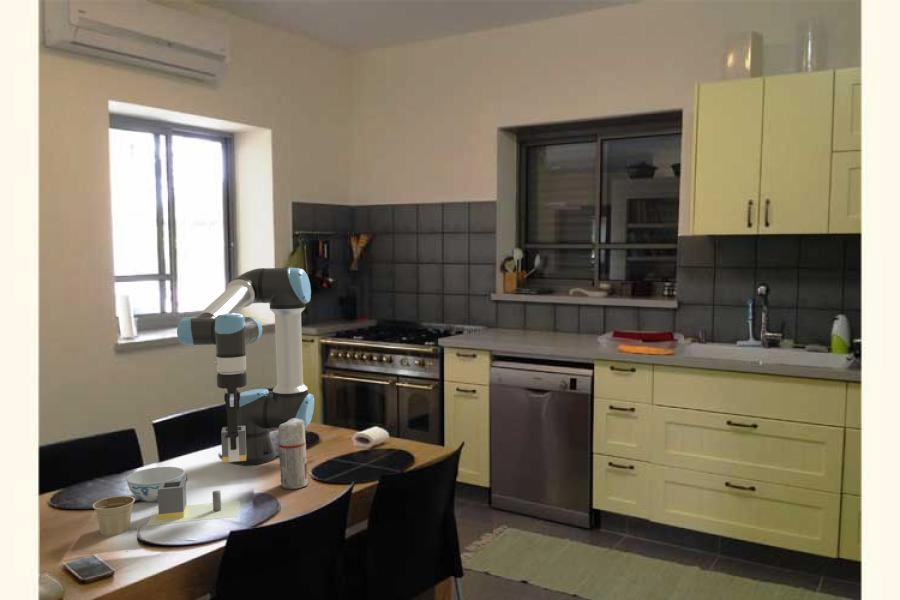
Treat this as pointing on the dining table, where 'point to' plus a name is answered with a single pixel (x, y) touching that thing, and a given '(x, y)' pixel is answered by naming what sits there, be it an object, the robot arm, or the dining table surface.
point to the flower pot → (114, 514)
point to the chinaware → (152, 481)
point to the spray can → (293, 454)
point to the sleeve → (241, 443)
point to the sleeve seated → (172, 499)
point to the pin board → (201, 511)
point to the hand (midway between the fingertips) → (234, 457)
